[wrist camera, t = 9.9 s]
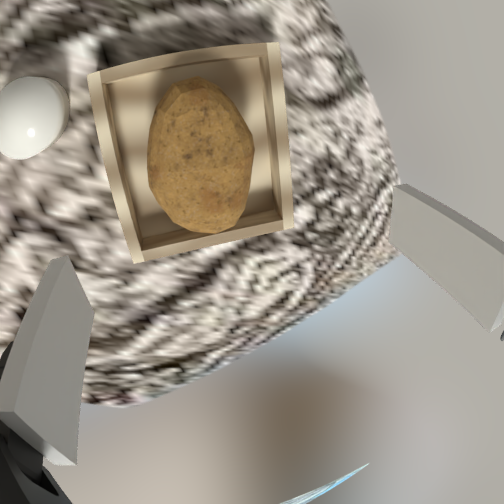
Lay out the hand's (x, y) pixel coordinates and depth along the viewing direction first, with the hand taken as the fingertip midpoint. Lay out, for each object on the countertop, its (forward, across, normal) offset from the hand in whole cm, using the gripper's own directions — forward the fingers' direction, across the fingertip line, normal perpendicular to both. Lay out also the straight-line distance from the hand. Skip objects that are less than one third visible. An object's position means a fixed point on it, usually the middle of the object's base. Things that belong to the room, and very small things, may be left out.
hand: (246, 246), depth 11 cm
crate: (+23, 0, 0) cm, 23 cm away
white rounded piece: (+23, -16, +8) cm, 29 cm away
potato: (+22, 0, 0) cm, 22 cm away
